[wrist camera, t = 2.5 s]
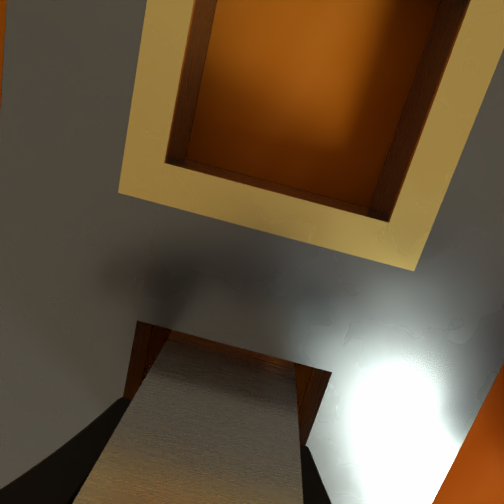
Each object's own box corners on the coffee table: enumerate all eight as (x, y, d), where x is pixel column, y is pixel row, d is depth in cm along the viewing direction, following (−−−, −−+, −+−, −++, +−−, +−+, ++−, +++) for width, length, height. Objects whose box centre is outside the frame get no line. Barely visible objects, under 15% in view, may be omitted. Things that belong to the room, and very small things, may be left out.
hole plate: (651, -63, 9) (760, -123, 7) (369, 540, 15) (383, 604, 13) (79, -215, 9) (19, -320, 7) (17, 446, 15) (-26, 496, 13)
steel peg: (293, 351, 13) (312, 665, 5) (263, 445, 14) (241, 816, 6) (178, 320, 13) (23, 588, 5) (157, 417, 14) (4, 753, 6)
